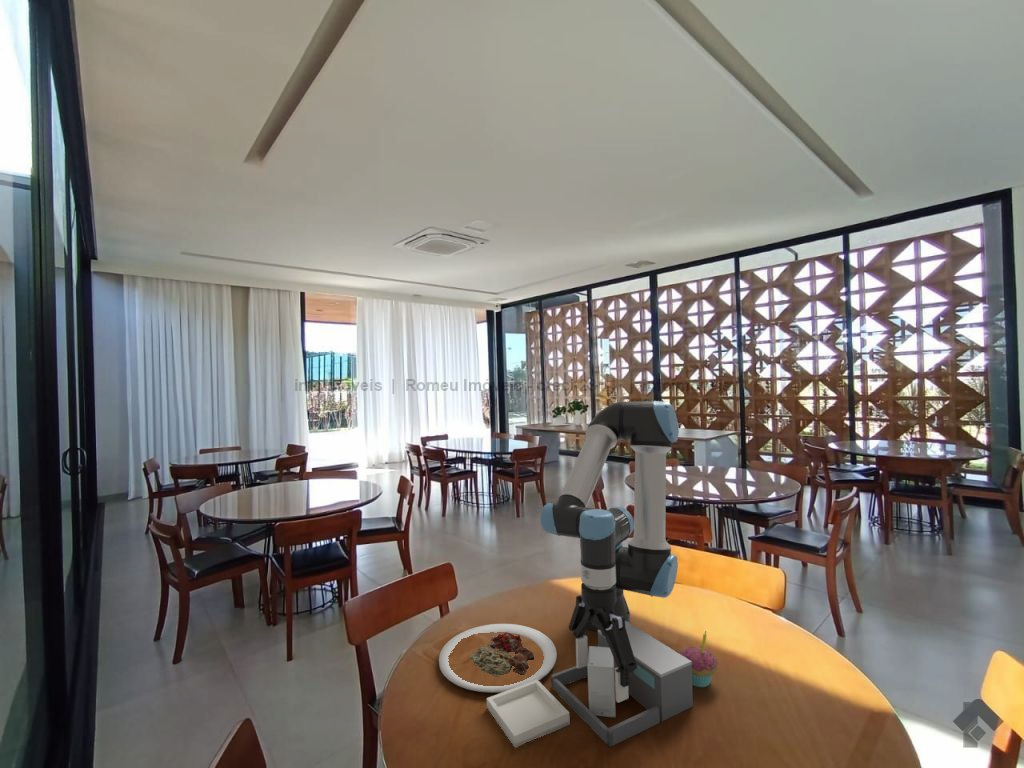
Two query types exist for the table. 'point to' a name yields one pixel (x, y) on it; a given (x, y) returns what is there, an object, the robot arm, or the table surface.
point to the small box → (601, 681)
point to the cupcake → (701, 664)
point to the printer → (638, 686)
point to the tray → (527, 712)
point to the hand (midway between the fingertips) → (601, 682)
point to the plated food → (501, 655)
